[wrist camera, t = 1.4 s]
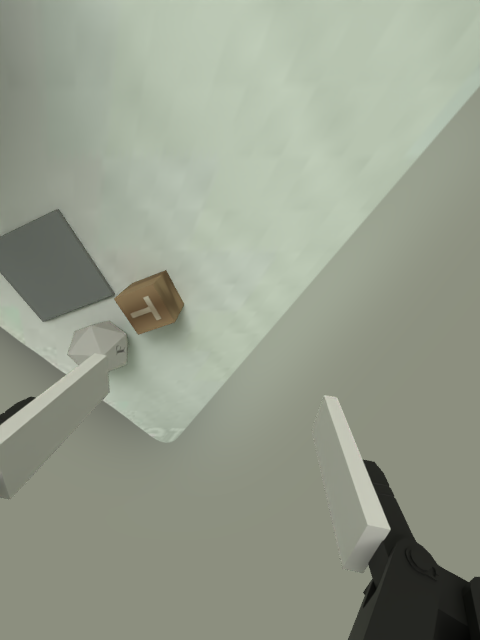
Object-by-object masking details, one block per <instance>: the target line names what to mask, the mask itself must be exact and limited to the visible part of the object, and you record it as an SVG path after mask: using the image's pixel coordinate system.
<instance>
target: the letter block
mask: <svg viewBox="0 0 480 640" xmlns="http://www.w3.org/2000/svg"><path fill="white" fill-rule="evenodd" d="M114 300H115V301H116V303H117V304H118V306H119V307H120V309H121V310H122V312H123V313H124V314H125V316H126V317H127V319H128V320H129V322H130V323H131V325H132V326H133V328H134V329H135V331H136V332H137V334H138V335H139V334H142V333H145V332H148V331H151V330H153V329H156V328H159V327H162V326H165V325H168V324H171V323H174V322H175V321H176V319H177V317H178V315H179V313H180V311H181V310H182V308H183V306H184V303H183V301H182V299H181V297H180V295H179V294H178V292H177V290H176V288H175V286H174V284H173V282H172V280H171V279H170V277H169V275H168V273H167V271H166V270H165V271H163V272H160V273H158V274H155V275H152V276H150V277H147V278H145V279H142V280H140V281H137V282H134V283H132V284H131V285H130V286H128V287H127V288H126V289H125V290H124V291H123V292H121V293H120V294H119V295H118V296H117V297H116V298H114Z"/></svg>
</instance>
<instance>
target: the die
mask: <svg viewBox="0 0 480 640" xmlns="http://www.w3.org/2000/svg"><path fill="white" fill-rule="evenodd" d="M94 353H97V354H102V355H107V361H108V372H110V371H112V370H115V369H117V368H120V367H122V366H125V365H127V355H128V339H127V334H126V333H125V332H123V331H122V330H121V329H119V328H118V327H117V326H115V325H114V324H113V323H111V322H110V321H106V322H102V323H98V324H94V325H90V326H88V327H85V328H82V329H80V330H77V331H75V332H74V335H73V338H72V341H71V344H70V347H69V350H68V353H67V355H68V356H69V357H70V358H71V359H73V360H74V361H75V362H76V363H77V364H78V365H80V364H81V363H83V362H84V361H85V360H87V359H88V358H89V357H91V356H92V355H93V354H94Z"/></svg>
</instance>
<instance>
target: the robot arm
mask: <svg viewBox="0 0 480 640" xmlns="http://www.w3.org/2000/svg"><path fill="white" fill-rule="evenodd" d="M109 392H110V390H109V376H108V361H107V355H102V354H97V353H94V354H93V355H92V356H91V357H89V358H88V359H87V360H85V361H84V362H83V363H81V364H80V365H79V366H77V367H76V368H75V369H73V370H72V371H71V372H69V373H68V374H67V375H66V376H64V377H63V378H62V379H60V380H59V381H58V382H57V383H55V384H54V385H52V386H51V387H50V388H48V389H47V390H46V391H45V392H43V393H42V394H41V395H39V396H38V397H37V398H35V397H29V398H27V399H25V400H22V401H20V402H18V403H16V404H15V405H14V406H12V407H11V408H9V409H8V410H7V411H6V412H5V413H3V414H1V415H0V497H1V498H5V499H11V498H12V497H13V496H14V495H15V494H16V493H17V492H18V491H19V489H21V487H22V486H23V485H24V484H25V483H26V482H27V481H28V480H29V479H30V478H31V477H32V475H33V474H34V473H35V472H36V471H37V470H38V469H39V468H40V467H41V466H42V465H43V464H44V462H45V461H46V460H47V459H48V458H49V457H50V456H51V455H52V454H53V453H54V452H55V451H56V449H57V448H58V447H59V446H60V445H61V444H62V443H63V442H64V441H65V440H66V439H67V438H68V437H69V435H70V434H71V433H72V432H73V431H74V430H75V429H76V428H77V427H78V426H79V425H80V424H81V423H82V421H83V420H84V419H85V418H86V417H87V416H88V415H89V414H90V413H91V412H92V411H93V409H94V408H95V407H96V406H97V405H98V404H99V403H100V402H101V401H102V400H103V399H104V398H105V397H106V396H107V394H108V393H109ZM312 433H313V438H314V442H315V447H316V451H317V456H318V460H319V465H320V469H321V474H322V478H323V482H324V487H325V492H326V496H327V501H328V505H329V510H330V515H331V519H332V524H333V528H334V533H335V537H336V542H337V546H338V551H339V555H340V560H341V564H342V568H343V569H346V570H351V571H355V572H360V573H363V572H364V570H365V569H366V567H367V566H368V565H369V568H370V571H371V574H372V578H373V579H372V580H371V582H370V583H369V585H368V586H367V588H366V589H365V591H364V592H363V593H364V594H365V597H364V600H363V602H362V605H361V607H360V610H359V612H358V615H357V618H356V620H355V623H354V625H353V628H352V631H351V633H350V636H349V638H348V640H480V577H474V578H473V579H472V580H471V581H470V582H467V581H466V580H463V579H462V578H460V577H458V576H456V575H455V574H453V573H451V572H449V571H447V570H445V569H444V568H442V567H440V566H439V565H437V563H436V562H435V560H434V559H433V557H432V556H431V554H430V553H429V552H428V551H427V550H426V549H425V548H423V546H421V545H420V544H418V543H417V542H416V540H415V539H414V537H413V535H412V533H411V531H410V529H409V526H408V524H407V522H406V520H405V518H404V516H403V514H402V511H401V509H400V507H399V505H398V503H397V501H396V499H395V498H394V494H393V492H392V490H391V488H389V484H388V482H387V479H386V477H385V475H384V473H383V472H382V471H381V469H380V468H379V467H378V466H377V465H376V463H375V462H372V461H367V460H362V458H361V455H360V453H359V450H358V448H357V445H356V443H355V440H354V438H353V435H352V433H351V431H350V428H349V426H348V423H347V421H346V418H345V416H344V414H343V411H342V408H341V406H340V404H339V401H338V399H337V397H331V396H326V395H324V397H323V399H322V402H321V406H320V408H319V411H318V414H317V417H316V420H315V423H314V426H313V428H312Z"/></svg>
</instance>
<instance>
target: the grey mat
mask: <svg viewBox="0 0 480 640" xmlns="http://www.w3.org/2000/svg"><path fill="white" fill-rule="evenodd" d="M0 273H1V274H2V275H3V276H4V277H5V279H6V280H7V281H8V282H9V283H10V284H11V285H12V287H13V288H14V289H15V290H16V291H17V292H18V294H19V295H20V296H21V297H22V298H23V299H24V300H25V302H26V303H27V304H28V305H29V306H30V307H31V309H32V310H33V311H34V312H35V313H36V314H37V316H38V317H39V318H40V319H41V320H42V321H43V322H44V321H46V320H49V319H51V318H54V317H57V316H59V315H62V314H64V313H67V312H70V311H72V310H75V309H78V308H80V307H83V306H85V305H88V304H91V303H93V302H96V301H98V300H101V299H104V298H106V297H109V296H112V295H114V294H115V293H114V292H113V290H112V289H111V287H110V286H109V284H108V283H107V281H106V280H105V278H104V277H103V275H102V274H101V272H100V271H99V269H98V268H97V266H96V265H95V263H94V262H93V260H92V259H91V257H90V256H89V254H88V253H87V251H86V250H85V248H84V247H83V245H82V244H81V242H80V241H79V239H78V238H77V236H76V235H75V233H74V232H73V230H72V229H71V227H70V226H69V224H68V223H67V221H66V220H65V218H64V217H63V215H62V214H61V212H60V211H59V209H58V210H55V211H53V212H51V213H48V214H46V215H44V216H42V217H40V218H38V219H36V220H34V221H32V222H30V223H28V224H26V225H24V226H22V227H20V228H18V229H15V230H13V231H11V232H9V233H7V234H5V235H3V236H1V237H0Z"/></svg>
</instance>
